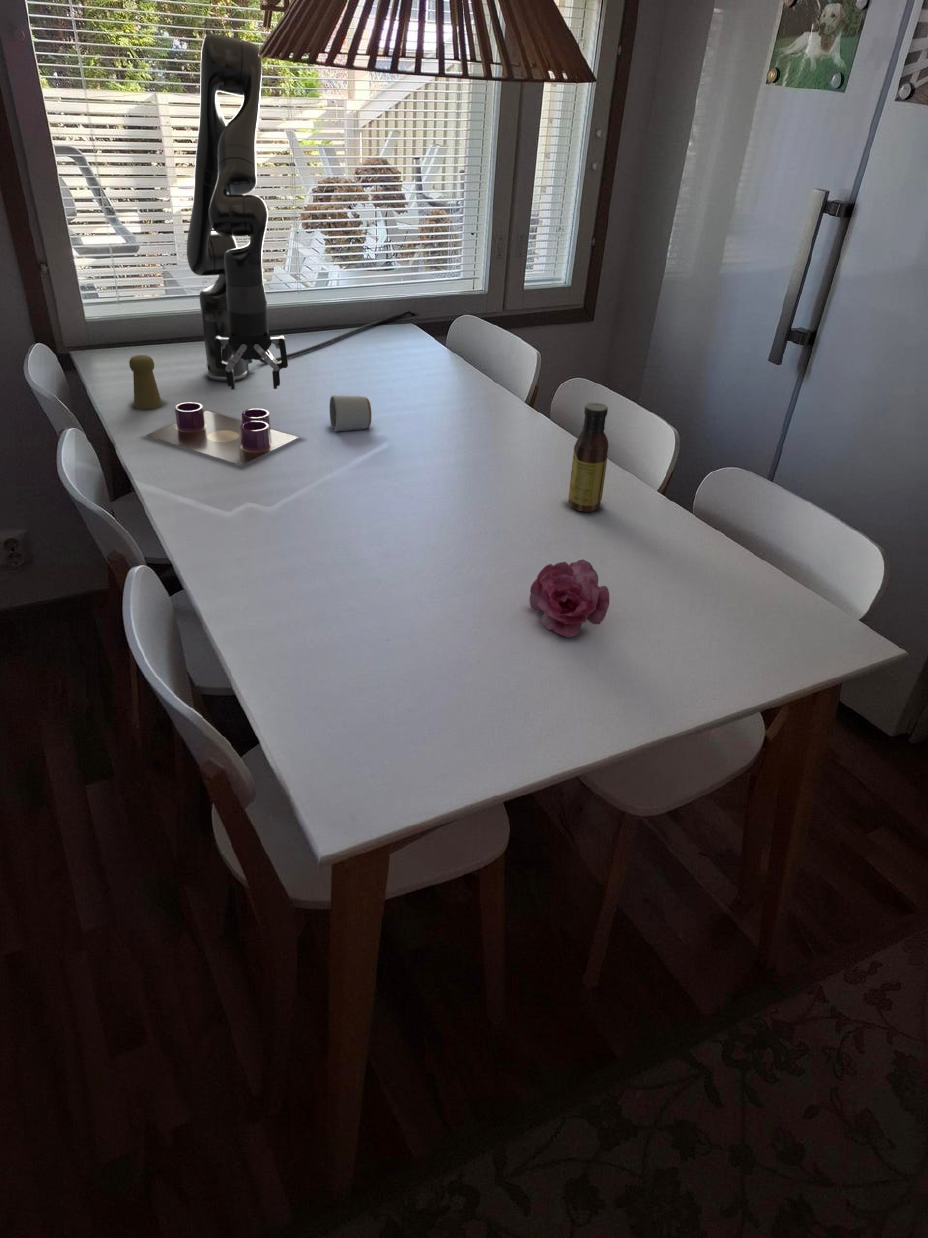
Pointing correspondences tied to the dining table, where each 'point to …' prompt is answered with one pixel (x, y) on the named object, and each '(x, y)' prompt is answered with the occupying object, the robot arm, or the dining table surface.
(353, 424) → the ceramic mug
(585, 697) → the dining table surface
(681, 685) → the dining table surface
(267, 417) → the plum dish
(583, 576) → the flower
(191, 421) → the plum dish
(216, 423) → the metal board
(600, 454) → the sauce bottle
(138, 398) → the yellow pawn figure
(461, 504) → the dining table surface
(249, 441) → the plum dish
